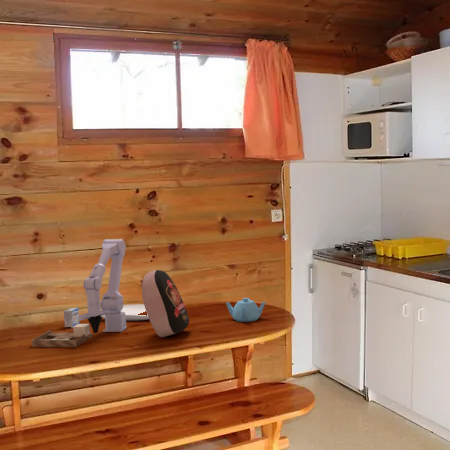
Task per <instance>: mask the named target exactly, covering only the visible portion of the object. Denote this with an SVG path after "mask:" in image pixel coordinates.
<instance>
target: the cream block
mask: <svg viewBox="0 0 450 450" xmlns="http://www.w3.org/2000/svg"><path fill="white" fill-rule="evenodd" d="M90 328H91V325H90V323H80V324H77V325H76V326H74V327H73V328H72V329H73V332H72V333H74V337H81V336H82V335H84V334H85V336H87V335H88V334H90V333H91V330H90Z"/></svg>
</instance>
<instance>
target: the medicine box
mask: <svg viewBox="0 0 450 450" xmlns="http://www.w3.org/2000/svg"><path fill="white" fill-rule="evenodd" d="M79 315H80V309H79V307H70V308H68V309H66V310H63V320H64V328H65V327H71V328H70V329H73V327H74V326H76V325H77V324H81V323H80V321H81V320H79Z"/></svg>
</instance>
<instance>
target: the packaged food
mask: <svg viewBox="0 0 450 450" xmlns="http://www.w3.org/2000/svg"><path fill="white" fill-rule="evenodd" d="M141 288H142V289H141V290H142V291H141V292H142V293H141V294H142V295H141V297H142V303H143V304H144V306H145V309H146V312H147V315H148V317H149V319H148V320H149V322H150V324H151V326H152V328H153V329H154V331H155V334H157V336H158V337H160V338H165V337H168V336H172V335H176V334H179V333H181V332H182V331H184V330H186V328H187V327H188V326H189V324H190V318H189V315H188V311H187V308H186V305H185V302H184V301H183V298H182V296H181V294H180V292H179V290H178V287H177V286H176V284H175V283H174V280H173V279H172V278H171V277H170V275H169V274H168V273H167V272H165V271H164V270H161V269H154V270H150V271H148V273H146V274H145V275H144V277H143V279H142V283H141Z"/></svg>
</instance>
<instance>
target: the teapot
mask: <svg viewBox="0 0 450 450" xmlns="http://www.w3.org/2000/svg"><path fill="white" fill-rule="evenodd" d="M225 304H226V307H227V310H228V312H229V314H230V316H231V317H232V319H233V320H235V321H236V322H238V323H239V322H240V323H252V322H255V321H257V320H258V319H259V318H260V317H261V315H262V313H263V310H264V307H265V305H266V301H262V302H261V304H260V306H258V305H257V304H256V302H255V301H254V300H251V298H248V297H243V298H242V300H238V301H237V302H236V303H235V305H234V307H233V305H231V303H230V302H225Z"/></svg>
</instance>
